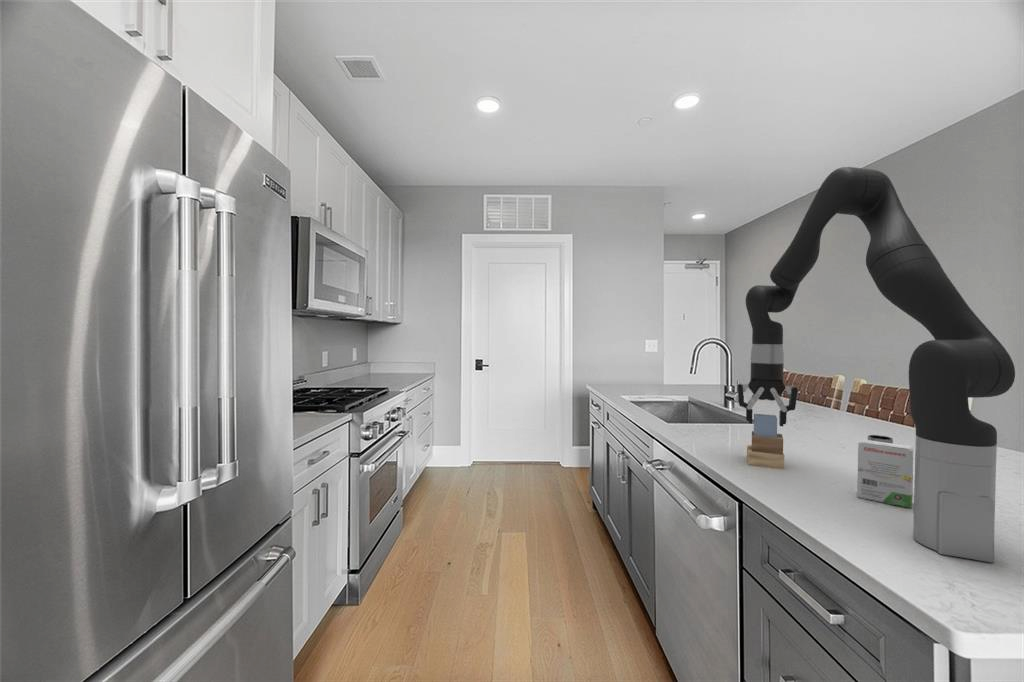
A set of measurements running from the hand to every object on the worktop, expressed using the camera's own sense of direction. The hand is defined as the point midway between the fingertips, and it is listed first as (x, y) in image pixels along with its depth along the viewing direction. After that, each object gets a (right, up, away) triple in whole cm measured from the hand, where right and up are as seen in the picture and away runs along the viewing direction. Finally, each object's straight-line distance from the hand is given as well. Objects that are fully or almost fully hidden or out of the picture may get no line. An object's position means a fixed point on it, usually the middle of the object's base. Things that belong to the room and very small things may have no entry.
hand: (765, 424), depth 117 cm
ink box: (+10, -11, -26) cm, 30 cm away
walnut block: (0, -7, 0) cm, 7 cm away
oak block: (0, -11, 0) cm, 11 cm away
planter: (+19, -11, -13) cm, 26 cm away
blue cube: (0, -3, 0) cm, 3 cm away
